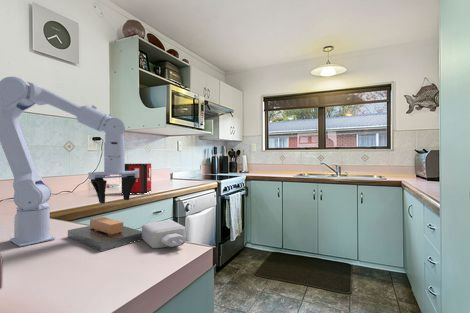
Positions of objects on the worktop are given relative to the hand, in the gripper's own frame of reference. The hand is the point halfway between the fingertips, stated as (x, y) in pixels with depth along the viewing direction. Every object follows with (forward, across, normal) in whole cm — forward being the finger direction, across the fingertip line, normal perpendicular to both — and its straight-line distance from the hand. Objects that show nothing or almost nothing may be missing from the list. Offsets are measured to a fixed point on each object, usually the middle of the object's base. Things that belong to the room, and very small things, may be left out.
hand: (114, 201), depth 79 cm
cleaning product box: (+10, +56, +80) cm, 98 cm away
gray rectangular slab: (+10, -5, -4) cm, 11 cm away
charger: (+10, +3, -22) cm, 25 cm away
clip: (+10, -5, -4) cm, 11 cm away
